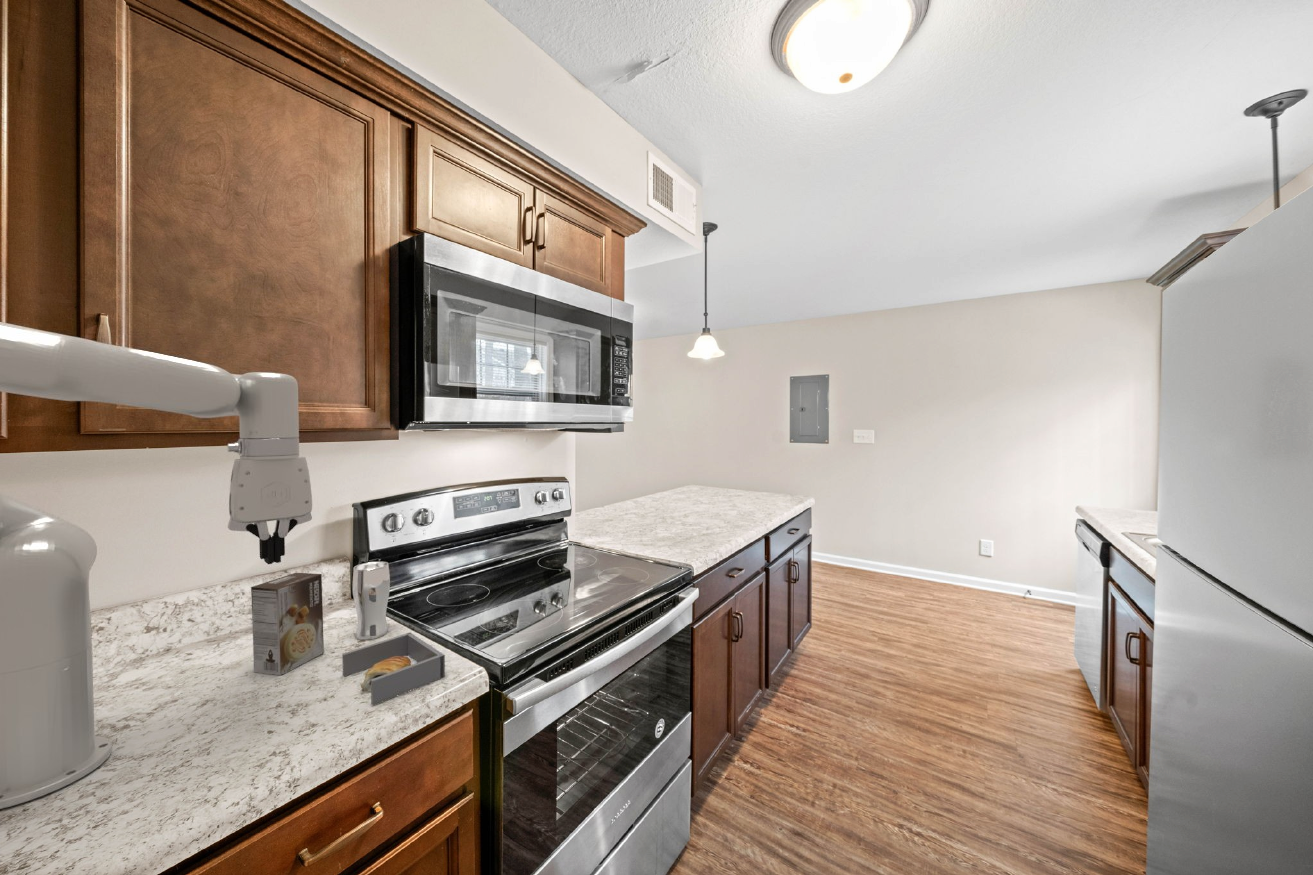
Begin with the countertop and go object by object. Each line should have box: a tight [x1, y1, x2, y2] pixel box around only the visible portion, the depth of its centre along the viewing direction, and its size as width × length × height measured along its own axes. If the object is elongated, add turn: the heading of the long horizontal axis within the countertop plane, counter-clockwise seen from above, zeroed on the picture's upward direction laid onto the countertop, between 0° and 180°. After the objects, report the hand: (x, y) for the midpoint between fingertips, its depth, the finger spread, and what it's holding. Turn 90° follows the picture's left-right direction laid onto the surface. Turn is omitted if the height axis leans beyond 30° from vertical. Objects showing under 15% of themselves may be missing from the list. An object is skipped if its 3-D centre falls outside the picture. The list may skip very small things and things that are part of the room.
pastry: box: [360, 656, 412, 693], centre depth 87 cm, size 9×7×4 cm
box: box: [341, 632, 446, 706], centre depth 87 cm, size 12×15×4 cm
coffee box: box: [250, 572, 325, 676], centre depth 92 cm, size 9×6×16 cm
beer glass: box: [352, 560, 391, 641], centre depth 105 cm, size 7×7×15 cm
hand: (272, 561), depth 79 cm, fingers closed
